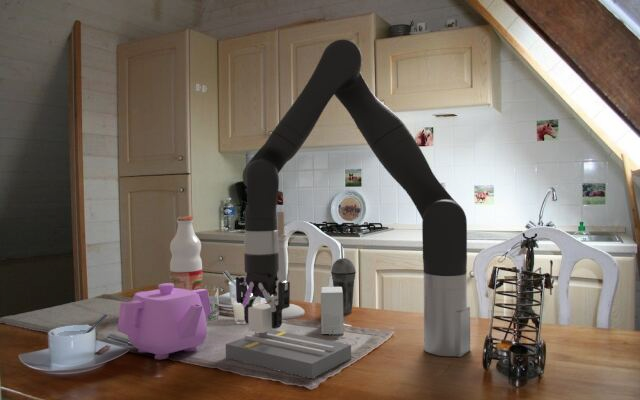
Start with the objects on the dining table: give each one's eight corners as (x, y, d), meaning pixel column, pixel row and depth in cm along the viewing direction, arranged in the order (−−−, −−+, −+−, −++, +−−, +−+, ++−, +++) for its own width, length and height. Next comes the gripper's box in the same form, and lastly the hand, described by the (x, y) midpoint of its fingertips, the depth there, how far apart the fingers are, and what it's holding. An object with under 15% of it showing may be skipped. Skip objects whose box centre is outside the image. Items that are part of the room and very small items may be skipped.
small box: (343, 335, 130) (343, 292, 129) (321, 335, 130) (320, 292, 129) (343, 326, 138) (342, 286, 137) (321, 326, 138) (320, 286, 137)
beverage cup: (360, 310, 155) (359, 242, 154) (351, 316, 148) (350, 245, 148) (337, 308, 158) (336, 241, 157) (327, 313, 151) (326, 244, 151)
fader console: (351, 358, 112) (351, 341, 112) (312, 379, 100) (312, 359, 100) (268, 341, 125) (268, 325, 125) (225, 358, 113) (225, 340, 113)
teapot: (202, 362, 111) (201, 290, 111) (113, 365, 110) (112, 293, 109) (213, 336, 130) (212, 275, 130) (137, 339, 129) (136, 277, 128)
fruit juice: (172, 306, 163) (169, 216, 162) (203, 305, 165) (201, 215, 164) (169, 314, 154) (167, 218, 153) (202, 312, 156) (200, 217, 155)
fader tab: (277, 336, 117) (276, 305, 117) (262, 342, 113) (261, 309, 113) (263, 333, 120) (263, 303, 119) (248, 339, 116) (248, 307, 115)
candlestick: (313, 311, 154) (311, 209, 153) (287, 321, 143) (285, 211, 142) (277, 306, 161) (276, 208, 160) (250, 315, 150) (248, 210, 149)
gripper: (297, 250, 115) (299, 326, 115) (248, 247, 123) (250, 317, 124) (275, 254, 109) (276, 334, 109) (225, 250, 117) (227, 324, 117)
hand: (262, 325), depth 116 cm, fingers open, 7 cm apart
